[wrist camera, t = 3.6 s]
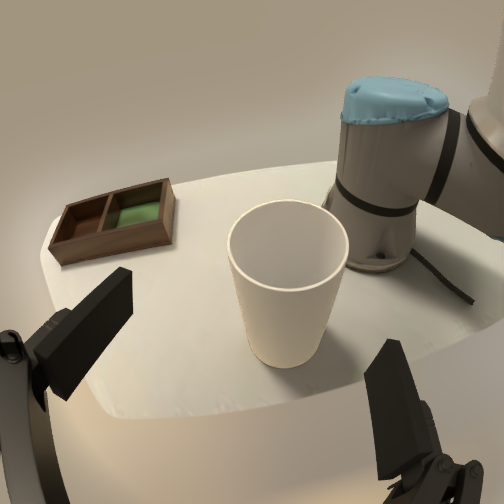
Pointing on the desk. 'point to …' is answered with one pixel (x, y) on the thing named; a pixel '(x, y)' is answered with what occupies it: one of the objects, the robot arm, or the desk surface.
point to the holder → (115, 223)
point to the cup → (286, 277)
